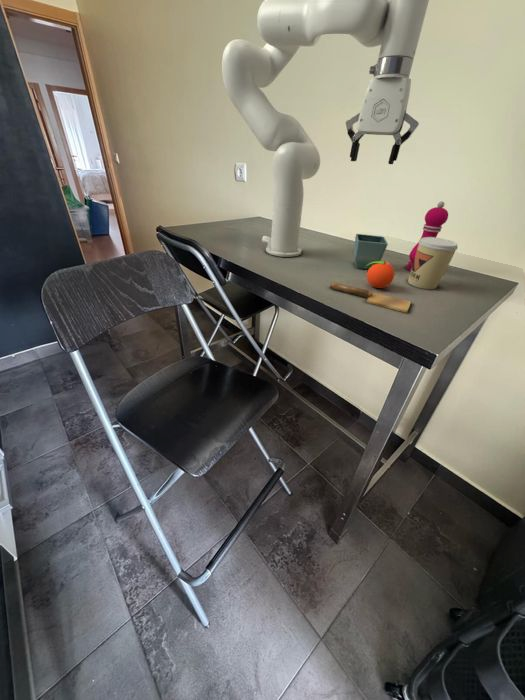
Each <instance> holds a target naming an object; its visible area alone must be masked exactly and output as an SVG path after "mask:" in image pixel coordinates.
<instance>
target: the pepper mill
mask: <svg viewBox="0 0 525 700" xmlns="http://www.w3.org/2000/svg"><path fill="white" fill-rule="evenodd" d="M445 204H446V203H445V202H444V201H443V200H442V201H439V202H438V203H437V207H432V208H430V209H429V210H427V212H426V213H425V215H424V222H425V224H423V227H422V234H421V237H420V239H419V241H420V240H421V239H422V238H424V237H435V238H438V237H437V236H438V235H439V233H441V231H442V229H443V225H444V224H446V223H447V221H448V219H449V212H448V210H447V209H446V208H444V207H445ZM419 241H418V242H417V243H416V244H415V245H414V246H413V248H412V249H411V250H410V252H409V255H408V258H409V260H410V261H408V262H407V265H406V270H408V271H409V272H411V269H412V265H413V262H414V258H415V255H416V252H417V248H418V245H419Z"/></svg>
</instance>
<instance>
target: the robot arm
mask: <svg viewBox="0 0 525 700" xmlns="http://www.w3.org/2000/svg"><path fill="white" fill-rule="evenodd" d="M429 3H430V0H263V1H262V3H261V4H260V6H259V8H258V11H257V17H256V20H257V21H256V24H257V29H258V32H259V35H260V37H261V38H262V40H263V41H264V42H265V44H264V45H263V47H262V46H260V45H258V44H255V43H253V42H251V41H249V40H246V39H240V38H235V39H233V40H231V41H229V42H228V43H227V44H226V46H225V47H224V49H223V52H222V59H221V76H222V81H223V85H224V88H225V92H226V94H227V96H228V97H229V100H230V102H231V103H232V105H233V106H234V107H235V109H236V111H238V113H239V114H240V116H241V117H242V118H243V120H244V121H245V123H246V125H247V126H248V128H249V130H251V132H252V133H253V135H254V136H255V138H256V139H257V141H258V142H259V144H260V145H261V146H262V147H263V149H265V150H267V151H268V152H275V153H274V156H273V160H272V172H273V204H272V205H273V207H272V220H271V236H268V235H263V236H262V238H261V243H264V244H267V245H266V248H265V252H266V253H268V254H269V255H271V256H275V257H281V258H295V257H298V256H301V255H302V249H301V247H299V238H300V230H301V221H302V213H303V205H304V194H305V193H304V192H305V191H304V182H303V180H308V179H311V178H314V176H315V175H316V174H317V173H318V171H319V169H320V165H321V155H320V152H319V149H318V148H317V146H316V144H315V143H314V142H313V140H312V138H311V137H310V135H308V133H307V131H306V130H305V129H304V127H303V126H302V124H301V123H300V122H299V121H298V119H296V118H295V117H294V116H292V115H291V114H290V115H289V114H287V113H283V112H280V111H279V110H277V109H276V108H275V107H274V106H273V104H272V103H271V101H270V100H269V99H268V97H267V95H266V94H265V93H264V92H263V90H261V89H262V88H263V89H264V88H267V87H269V86H270V85H272V83H273V82H274V81H275V80H276V79H277V78H278V76H279V75H280V74H281V73H282V71H283V70H284V69H285V68H286V66H288V64H289V63H290V61H291V60H292V59H293V57H294V56H295V54H296V53H297V52H298V50H299V49H300V47H314V46H315V45H317V43H319V41H320V39H321V36H323V35H350V36H351V37H353V38H354V39H355V40H356V41H357V42H359V43H360V44H361V45H362V46H363V47H365V48H375V47H380V48H379V53H378V58H377V60H376V62H375V64H374V65H371V66H370V68H369V71H368V72H369V73H368V74H369V75H372V76H373V78H371V79H369V82H368V85H367V87H366V91H365V94H364V98H363V99H362V100H363V101H362V104H361V108H360V112H358V113H357V114H355V115H354V116H352V117H350V118H348V119H347V120H346V121H345V127H346V131H347V136H348V137H349V139H350V141H351V147H350V148H351V149H350V153H349V158H350V162H357V160H358V154H359V150H360V146H361V143H360V141H361V139H362V138H363V137H364V136H365V135H372V136H373V135H374V136H392V137H393V139H394V144H393V145H392V147H391V151H390V154H389V158H388V161H387V163H388V165H394V162H395V161H397V160H398V156H399V154H400V149H401V145H403V144H404V143H405V142H406V141H407V140H408V139H409V138H411V137H412V135H413V134H414V132H415V131H416V130H417V128H418V127H419V125H420V123H419V121H417V120H416V119H415V118H414V117H412V116H411V115H410V114H408V112H407V110H408V105H409V99H410V92H411V85H412V79H411V78H410V75H411V71H412V67H413V65H414V64H413V63H414V60H415V55H416V52H417V48H418V44H419V40H420V37H421V33H422V28H423V25H424V21H425V17H426V13H427V9H428V6H429ZM405 122H406V123H407V124H408V125H409V127H408V129H407V131H405V133H403V135H401V132H402V129H403V127H404V123H405ZM356 123H357V124H356ZM355 124H356V130H357V131H356V132H355V130H354V125H355Z"/></svg>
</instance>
